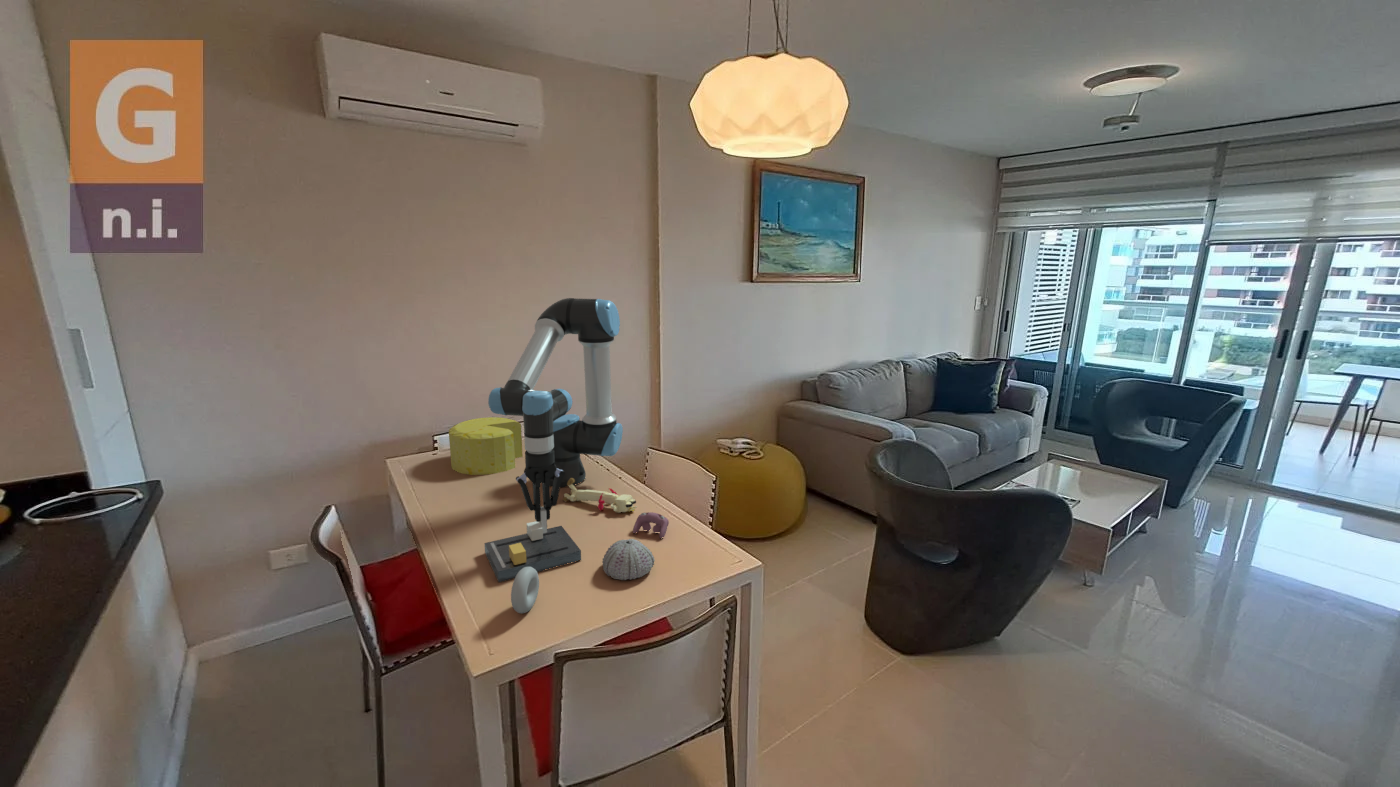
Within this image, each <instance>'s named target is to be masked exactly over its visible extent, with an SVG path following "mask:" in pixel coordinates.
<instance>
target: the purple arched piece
mask: <svg viewBox="0 0 1400 787" xmlns="http://www.w3.org/2000/svg"><path fill="white" fill-rule="evenodd" d="M651 523H652V524H655V525H654V526H652V525H651ZM669 524H670V521H669V519H668V518H667V517H665V516H664V515H663V514H660V513H657V512H653V511H652V512H651V511H650V512H642V513H641V514H639V515H638V516H637V518H636V520H635V522H634V525H633V528H632V533H636V532H637V533H639V531H640V530H641V528H642V529H643V531H644V530H647V531H648V532H650V531H651V530H650V529H652V532H653V533H654V532H660V533H659V539H660V538H662V537H664V538H665V536H666V534H667V530H668V526H669ZM649 530H650V531H649Z"/></svg>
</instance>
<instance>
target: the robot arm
mask: <svg viewBox="0 0 1400 787" xmlns="http://www.w3.org/2000/svg"><path fill="white" fill-rule="evenodd" d="M620 320H621V319H620V314H619V310H618V307H617V306H616V304H615V303H614V302H613V301H611V300H609V299H601V298H572V297H568V298H567V297H566V298H562V299H560V300H557V301H555V302H554V303H552V304H551V305H550V306H548V307H546V309H545V310H544V311H543V312H542V313H541V314H540V315H539V316H538V319H537V320H536V322H535V323H534V333H533V334H532V336H531V338H530V339H529V342H528V343H527V344H526V346H525V349H524V350H523V352H522V354H521V356H520V357H519V359H518V361H517V363H516V365H515V367H514V369H513V370H512V373H511V374H510V376H509V378H508V379H507V382H506V383H505V385H504V386H503V387H495V388H493V389H491V391H490V392H489V395H488V407H489V410H490V411H491V413H493V414H497V415H502V416H516V417H518V416H519V417H523V418H522V419H523V435H524V436H523V437H524V450H525V452H524V458H525V459H524V461H525V462H524V463H525V468H524V470H523V473H522V475H520V476H516V477H515V481H516V482H517V484H519V486H520V488H521V491H522V494H523V497H524V501H525V504H526V507H527V508H528V509H529V511H531V512H533V511H534V521H537V522H539V524H540V525H541V527H542V528H543V533H546V532H547V529H548V520H550V519H551V510H552V507H555V506H556V505H557V502H558V499H559V495H560V489H561V488H566V487H565V486H568V485H567V483H568V480H569V479H570V478H574V479H575V482H574V483H572V484H573V485H574V486H576V485H575V484H577V485H579V484H578V483H580V482H582V481H583V480H584V479H585V480H586V478H585V477H586V469H585V467H584V465H583V462H582V460H581V455H591V456H599V457H600V456H601V457H612V456H615V455H616V454H617V452H618V451H619V449H620V446H621V442H622V439H623V432H624V430H623V424H622V423H620V422H617V415H616V414H615V413H613V410H612V407H613V405H612V382H611V380H612V378H611V349H610V347H611V346H610V345H611V344H612V343H613V342H614V341H615V337H616V336H618V335H619V332H620V326H621V324H620V322H621V321H620ZM569 334H570V335H577V341H578V342H579V343H580V345H582V346H583V348H582V349H583V364H584V366H583V368H584V385H585V386H584V389H585V410H586V411H585V412H586V414H584V415H583V416H582V418H581V419H582V420H580V416H579V415H578V414H574V413H571V414H569V413H568V412H569V411H570V410H571V408H572V406H573V398H572V396H571V394H570V393H569V392H568V390H565V389H563V388H554V389H551V390H535V387H536V385H537V383H538V381H539V378H540V377H541V375H542V373H543V371H544V369H545V367H546V365H547V363H548V361H549V359H550V357H551V355H552V353H553V352H554V349H555V348H556V345H557V343H559V342H560V341H562V340H563V339H564V337H565V336H566V335H569ZM567 413H568V414H567ZM527 478H528V479H529V481H530V482H531V483H532V494H533V495H532V497H533V501H532V498H531V495H530V491H529V488H528V485H527V481H528V480H527ZM585 480H584V481H585ZM584 481H583V482H584ZM583 482H582V483H583ZM580 484H581V483H580ZM541 485H542V488H541ZM550 487H552V488H551V491H550ZM541 489H542V503H541ZM541 504H542V505H543V506H541Z"/></svg>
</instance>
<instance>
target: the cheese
mask: <svg viewBox="0 0 1400 787" xmlns="http://www.w3.org/2000/svg"><path fill="white" fill-rule="evenodd" d="M448 439H449V440H448V442H449V452H450V454H449V455H450V462H451V463H450V464H451V469H452V470H453V471H454V470H455V471H454V472H456V471H457V472H456V473H458V474H462V475H471V476H484V475H495V474H499V473H505V472H508V471H510V470H513V469H516V458H517V459H518V458H524V457H523V456H524V455H523V454H524V453H523V441H522V439H523V438H522V423H520V422H519V421H517V420H515V419H510V418H506V417H499V416H498V417H495V416H494V417H493V416H492V417H490V416H489V417H479V418H478V417H477V418H472V419H469V420H464V421H461V422H459V423H457V424H454V425H453V426H452V427H451V428H449V429H448Z"/></svg>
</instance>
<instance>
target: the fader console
mask: <svg viewBox="0 0 1400 787" xmlns="http://www.w3.org/2000/svg"><path fill="white" fill-rule="evenodd" d="M517 543H521V544H522V546H523V547H524V549H525V551H526V562H525V563H521V564H517V565H514V564H513V562H512V560H511V558H510V556H509V545H513V544H517ZM484 554H485V556H486V558H487V560H489V561H488V562H489V565H490V567H491V569H492V571H493V573H494V575H495V578H496V579H497V582H498V583H502V581H503V582H505V580H506V581H509V579H510V580H514V579H515V577H516V575H517V573H518V572H519V571H520V570H521V569H522V568H524V567H532V568H534V569H535V570H536V571H537V573H539V571H540V572H544V571H546V570H545V569H548V570H550V569H549V568H552V569H554V568H553V567H556V566H559V567H561V566H560V565H563V566H565V565H564V564H567V563H571V562H574V563H576V562H575V561H578V560H581V561H582V550H581V549H580V547H579V546H578V545H577V544H576V542H575V541H574V540H573V538H572V537H571V535H569V533H568V532H567V531H566V529H565V528H564V527H563V526H562V525H559V526H554V527H550V528H547V532H546V533H543V539H539V540H534V541H532V540H531V539H530V537H529V536H528V534H527V533H524V534H523V533H522V534H519V535H514V536H510V537H506V538H501V539H497V540H492V541H488V542H484ZM578 562H579V561H578ZM571 564H572V563H571ZM567 565H568V564H567ZM556 568H557V567H556ZM543 570H544V571H543ZM513 578H514V579H513Z"/></svg>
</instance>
